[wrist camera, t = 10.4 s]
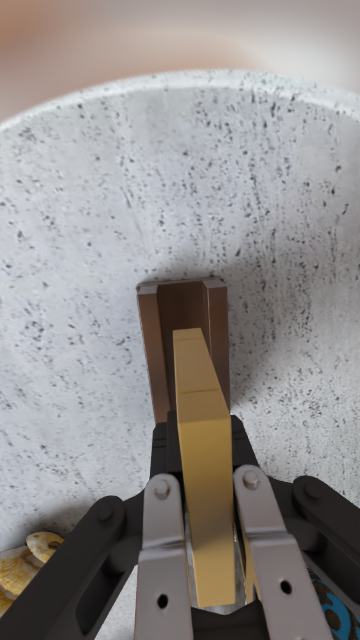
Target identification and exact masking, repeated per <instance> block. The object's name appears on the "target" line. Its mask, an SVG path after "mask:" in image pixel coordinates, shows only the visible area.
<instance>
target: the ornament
mask: <svg viewBox="0 0 360 640" xmlns="http://www.w3.org/2000/svg"><path fill="white" fill-rule="evenodd" d="M309 576H310V578H311V581H312V584H313V586H314V589H315V592H316V594H317V597H318V599H319V602H320V605H321V607H322V610H323V613H324V615H325V618H326V621H327V623H328V626H329V629H330V630H332V631H333V632H334V633H335V634H336V635H337V636H338V637H339V638H340V639H341V640H360V620H359V619H358V618H357V616H356V615H355V614H354V613H353V612H352V611H351V610H350V609H349V608H348V607H347V606H346V605H345V604H344V603H343V602H342V601H341V600H340V599H339V598H338V597H337V596H336V595H335V593H334V592H333V591H332V590H331V589H330V588H329V587H328V586H327V585H326V584H325V583H324V582H323V581H322V580H321V579H320V578H319V577H318V576H317V575H316V574H309Z"/></svg>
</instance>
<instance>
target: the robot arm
mask: <svg viewBox="0 0 360 640" xmlns="http://www.w3.org/2000/svg"><path fill="white" fill-rule="evenodd" d="M230 417H231V435H232V474H233V513H234V529H235V534H236V540H237V545H238V550H239V556H240V561H241V567H242V572H243V577H244V583H245V590H246V599H247V605H245V606H243V607H241V608H239V609H238V610H236V611H234V612H232V613H230V614H228V615H222V614H218V613H214V612H210V611H206V610H202V609H198V608H194V607H193V605H192V596H191V587H190V576H189V566H188V556H187V546H186V536H185V530H186V519H185V512H187V504H186V495H185V486H184V477H183V469H182V460H181V451H180V442H179V433H178V424H177V410H174V411H167V422H160V423H157V425H156V427H155V428H154V430H153V439H152V440H153V441H152V453H151V467H150V478H149V481H148V483H147V484H146V487H145V488H144V489H143V490H142V491H141V492H140V493H139V494H137V495H136V496H134V497H131V498H129V499H127V500H125V501H122V500H121V499H120V498H119V497H117V496H106V497H103V498H101V499H99V500H98V501H97V502H96V503H94V505H93V506H92V507H91V508H90V509H89V510H88V512H87V513H86V514H85V515H84V517H83V518H82V519H81V520H80V521H79V523H78V524H77V525H76V526H75V528H74V529H73V530H72V531H71V532H70V534H69V535H68V536H67V537H66V539H65V540H64V541H63V542H62V543H61V545H60V546H59V547H58V548H57V550H56V551H55V552H54V553H53V554H52V556H51V557H50V558H49V559H48V561H47V562H46V563H45V564H44V565H43V567H42V568H41V569H40V570H39V572H38V573H37V574H36V575H35V576H34V578H33V579H32V580H31V581H30V583H29V584H28V585H27V586H26V587H25V589H24V590H23V591H22V592H21V594H20V595H19V596H18V597H17V598H16V600H15V601H14V602H13V603H12V605H11V606H10V607H9V608H8V609H7V611H6V612H5V613H4V614H3V616H2V617H1V618H0V640H94V639H95V637H96V635H97V633H98V632H99V630H100V628H101V626H102V624H103V623H104V621H105V619H106V617H107V615H108V614H109V612H110V610H111V608H112V606H113V605H114V603H115V601H116V599H117V598H118V596H119V594H120V592H121V590H122V589H123V587H124V585H125V583H126V581H127V580H128V578H129V576H130V574H131V572H132V570H133V568H134V566H135V565H137V564H138V573H137V592H136V611H135V629H134V640H341V639H340V638H339V637H338V636H337V635H336V634H335V633H334V632H333V631H332V630H330V629H329V626H328V623H327V621H326V618H325V615H324V613H323V610H322V607H321V605H320V602H319V599H318V597H317V594H316V592H315V589H314V586H313V584H312V581H311V578H310V576H309V573H308V570H307V568H306V565H305V563H306V564H307V565H308V566H309V567H310V568H311V569H312V570H313V572H314V573H315V574H316V575H317V576H318V577H319V578H320V579H321V580H322V581H323V582H324V583H325V584H326V585H327V586H328V587H329V588H330V589H331V590H332V591H333V592H334V593H335V595H336V596H337V597H338V598H339V599H340V600H341V601H342V602H343V603H344V604H345V605H346V606H347V607H348V608H349V609H350V610H351V611H352V612H353V613H354V614H355V615H356V616H357V618H358V619H359V620H360V509H359V508H358V507H357V506H355V505H354V504H353V503H351V502H350V501H349V500H347V499H346V498H344V497H343V496H342V495H340V494H339V493H338V492H336V491H335V490H334V489H332V488H331V487H330V486H328V485H327V484H325V483H324V482H323V481H321V480H319V479H318V478H315V477H312V476H300V477H297V478H296V479H295V480H294V482H293V483H289V482H284V481H279V480H276V479H273V478H271V477H269V476H268V475H266V473H265V472H264V471H263V470H262V469H261V468H260V466H259V464H258V462H257V459H256V457H255V454H254V451H253V449H252V446H251V444H250V441H249V439H248V436H247V433H246V432H245V428H244V426H243V423H242V421H241V420H240V419H239V418H238V417H237V416H236V415H230Z"/></svg>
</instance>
